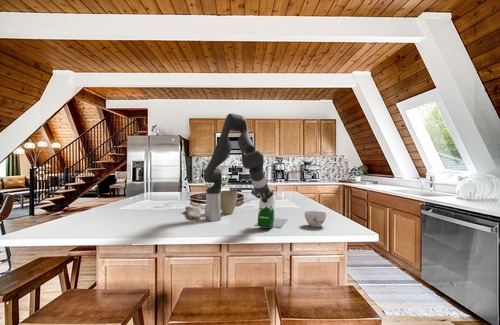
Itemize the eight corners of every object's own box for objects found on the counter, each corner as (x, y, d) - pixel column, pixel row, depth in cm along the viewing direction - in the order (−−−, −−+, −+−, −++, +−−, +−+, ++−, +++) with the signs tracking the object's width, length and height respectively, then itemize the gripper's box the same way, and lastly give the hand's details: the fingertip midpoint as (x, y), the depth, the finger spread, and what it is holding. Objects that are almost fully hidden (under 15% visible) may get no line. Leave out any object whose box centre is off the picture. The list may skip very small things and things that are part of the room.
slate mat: (254, 225, 155) (254, 225, 155) (263, 218, 176) (263, 217, 176) (281, 227, 150) (281, 227, 150) (287, 219, 171) (287, 219, 171)
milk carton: (255, 225, 145) (259, 189, 151) (259, 227, 153) (263, 193, 159) (271, 226, 142) (274, 190, 148) (274, 228, 150) (277, 194, 156)
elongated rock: (187, 223, 168) (202, 222, 171) (187, 214, 168) (203, 214, 171) (184, 210, 202) (197, 210, 205) (184, 203, 201) (197, 203, 204)
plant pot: (214, 215, 185) (215, 192, 185) (220, 211, 200) (220, 190, 200) (235, 215, 183) (235, 193, 183) (239, 211, 198) (239, 190, 198)
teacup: (328, 229, 147) (328, 214, 147) (305, 228, 148) (305, 214, 148) (323, 222, 162) (323, 209, 162) (302, 222, 163) (302, 209, 163)
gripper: (272, 176, 137) (277, 196, 149) (248, 176, 141) (255, 195, 153) (270, 188, 132) (275, 207, 144) (245, 187, 136) (252, 206, 148)
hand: (265, 201), depth 148 cm, fingers closed
